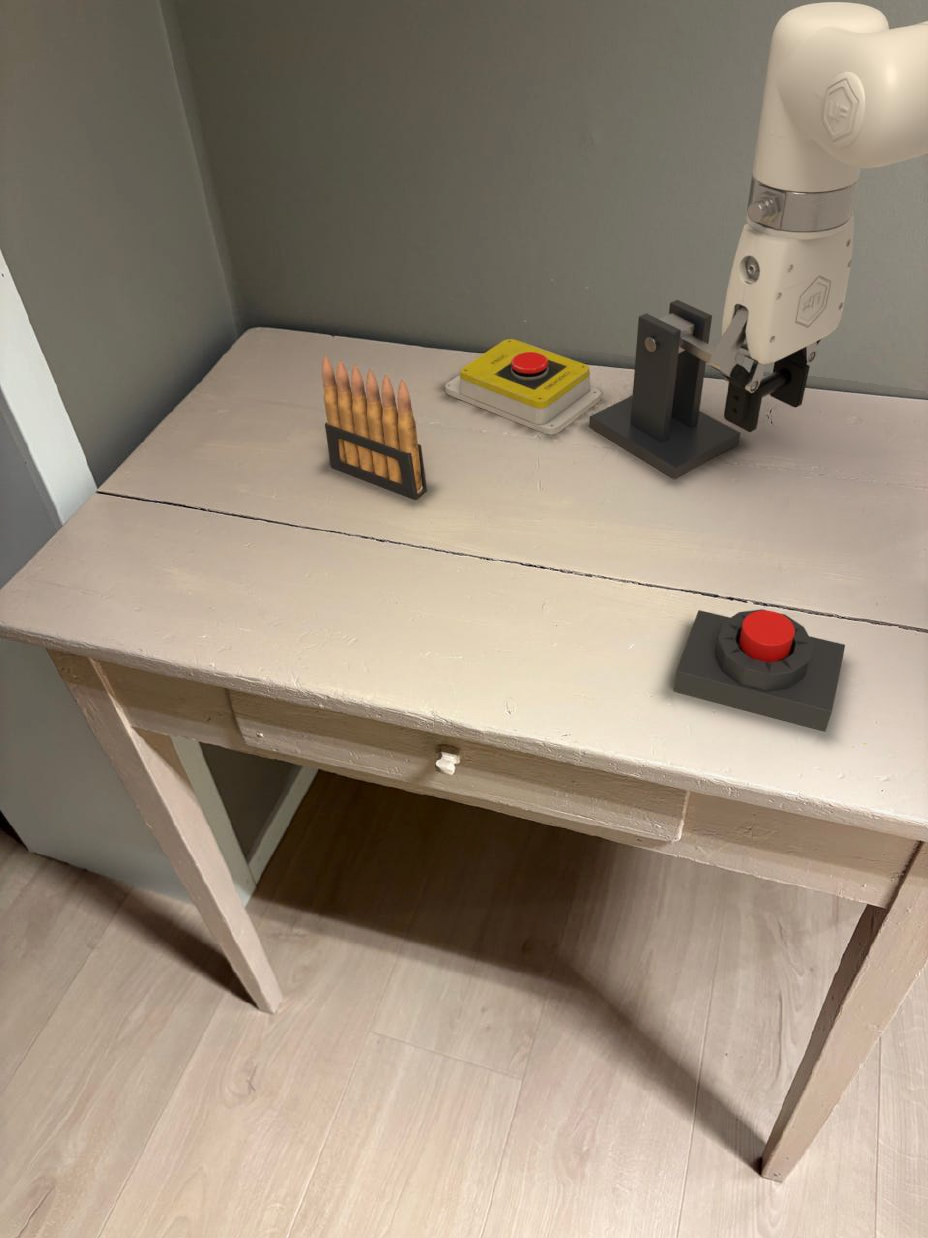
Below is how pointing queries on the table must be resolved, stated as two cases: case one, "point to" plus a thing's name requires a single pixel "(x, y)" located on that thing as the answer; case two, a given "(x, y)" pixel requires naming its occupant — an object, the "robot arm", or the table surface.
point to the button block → (760, 672)
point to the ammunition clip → (372, 431)
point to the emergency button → (527, 386)
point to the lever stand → (667, 400)
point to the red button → (766, 636)
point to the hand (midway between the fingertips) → (762, 410)
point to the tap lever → (706, 351)
